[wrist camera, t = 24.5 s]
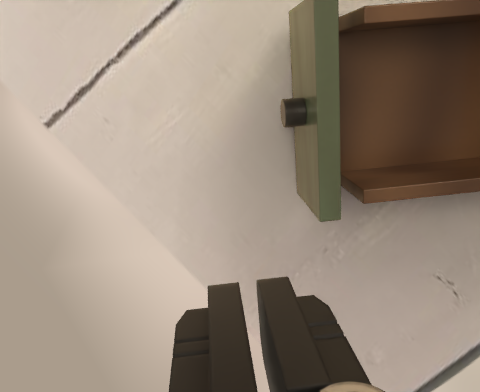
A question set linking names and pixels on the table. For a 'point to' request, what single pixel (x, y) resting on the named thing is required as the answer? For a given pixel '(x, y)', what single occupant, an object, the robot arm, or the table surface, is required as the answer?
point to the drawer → (384, 101)
